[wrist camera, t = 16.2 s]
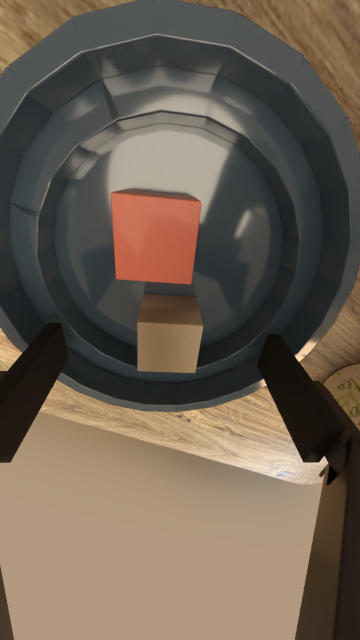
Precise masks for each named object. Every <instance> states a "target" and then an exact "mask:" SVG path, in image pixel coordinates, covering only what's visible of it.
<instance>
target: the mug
mask: <svg viewBox="0 0 360 640" xmlns="http://www.w3.org/2000/svg"><path fill="white" fill-rule="evenodd" d="M323 385H324V386H325V387H326V388H328V390H329V391H330V392H331V394H332V395H333V396H334V398H335V399H336V400H337V402H338V403H339V405H341V407H342V408H343V409H344V411H345V412H346V413H347V415H348V416H349V417H350V419H351V420H352V421H353V422H354V424H355V425H356V426H357V428H358V429H359V430H360V364H355V365H351V366H347V367H345V368H342V369H340V370H338V371H337V372H335V373H333V374H332V375H331V376H330V377H329V378H328V379H327V380H326V381H325V382H324V384H323Z"/></svg>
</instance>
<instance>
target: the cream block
mask: <svg viewBox="0 0 360 640" xmlns="http://www.w3.org/2000/svg"><path fill="white" fill-rule="evenodd" d="M202 331H203V322H202V318H201V314H200V310H199V306H198V302H197V298H196V297H187V296H171V295H155V294H143V298H142V302H141V307H140V311H139V316H138V320H137V370H138V371H149V372H178V373H195V371H196V366H197V360H198V354H199V349H200V343H201V337H202Z"/></svg>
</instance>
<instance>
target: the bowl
mask: <svg viewBox="0 0 360 640" xmlns="http://www.w3.org/2000/svg"><path fill="white" fill-rule="evenodd" d="M124 189H130V190H139V191H149V192H158V193H168V194H178V195H187V196H193V197H195V198H196V199H198V200H200V201H201V202H202V205H201V212H200V220H199V228H198V236H197V244H196V251H195V259H194V267H193V275H192V283H191V284H178V283H163V282H149V281H135V280H120V279H116V272H115V256H114V239H113V222H112V206H111V192H115V191H120V190H124ZM359 266H360V153H359V150H358V146H357V143H356V140H355V136H354V133H353V130H352V127H351V123H350V120H349V118H348V117H347V114H346V113H345V111H344V110H343V108H342V107H341V106H340V104H339V103H338V102H337V100H336V99H335V97H334V96H333V95H332V93H331V92H330V91H329V89H328V88H327V86H326V85H325V84H324V82H323V81H322V79H321V78H320V77H319V75H318V74H317V73H316V71H315V70H314V68H313V67H312V66H311V64H310V63H309V61H308V60H307V59H306V58H304V55H303V54H301V53H300V52H298V51H297V50H295V49H294V48H292V47H291V46H289V45H288V44H286V43H285V42H283V41H281V40H280V39H278V38H277V37H275V36H274V35H272V34H271V33H269V32H268V31H266V30H265V29H263V28H262V27H260V26H258V25H257V24H255V23H254V22H252V21H251V20H249V19H248V18H246V17H245V16H243V15H242V14H240V13H237V12H236V11H231V10H226V9H220V8H215V7H209V6H204V5H198V4H193V3H187V2H181V1H176V0H137V1H133V2H129V3H125V4H121V5H116V6H112V7H108V8H104V9H100V10H96V11H92V12H88V13H84V14H80V15H76V16H72V19H69V20H67V21H66V22H65V23H63V24H62V25H61V26H60V27H58V28H57V29H56V30H54V31H53V32H52V33H50V34H49V35H48V36H46V37H45V38H44V39H43V40H41V41H40V42H39V43H37V44H36V45H35V46H33V47H32V48H31V49H30V50H28V51H27V52H26V53H24V54H23V55H22V56H20V57H19V58H18V59H16V60H15V61H14V62H13V63H11V64H10V65H9V68H8V67H6V68H5V70H4V71H3V73H2V75H1V77H0V328H1V329H2V331H3V332H4V333H5V335H6V336H7V337H8V339H9V340H10V342H11V343H13V345H14V346H15V347H16V348H18V349H19V350H20V351H21V352H22V353H23V352H24V351H25V350H26V348H27V347H28V346H29V345H30V344H31V342H32V341H33V340H34V339H35V338H36V336H37V335H38V334H39V333H40V332H41V331H42V329H43V328H44V327H45V326H46V325H47V323H48V322H51V323H62V328H63V332H64V337H65V341H66V346H67V350H68V355H69V358H68V360H67V362H66V364H65V366H64V367H63V369H62V371H61V373H60V374H59V376H58V378H57V380H58V381H60V382H62V383H63V384H65V385H67V386H68V387H70V388H72V389H73V390H75V391H78V392H79V393H82V394H84V395H87V396H90V397H92V398H95V399H98V400H100V401H103V402H106V403H108V404H112V405H115V406H120V407H125V408H130V409H136V410H141V411H156V412H179V411H180V412H182V411H189V410H196V409H202V408H209V407H214V406H217V405H220V404H223V403H226V402H230V401H233V400H236V399H239V398H242V397H245V396H247V395H249V394H251V393H253V392H255V391H257V390H258V389H260V388H262V387H264V386H266V383H265V381H264V379H263V377H262V375H261V373H260V371H259V369H258V367H257V362H258V360H259V357H260V354H261V351H262V349H263V346H264V343H265V340H266V338H267V335H268V334H279V335H280V336H281V338H282V339H283V341H284V342H285V343H286V345H287V346H288V347H289V349H290V350H291V352H292V353H293V354H294V356H295V357H296V359H297V360H298V361H299V362H300V361H301V360H302V359H303V358H305V357H306V356H307V355H308V354H309V353H310V351H311V350H312V349H313V348H314V347H315V346H316V344H317V343H318V342H319V341H320V340H321V339H322V337H323V336H324V335H325V334H326V333H327V331H328V330H329V329H330V328H331V327H332V325H333V324H334V322H335V321H336V319H337V317H338V315H339V313H340V311H341V309H342V308H343V306H344V304H345V302H346V300H347V298H348V296H349V295H350V293H351V291H352V289H353V287H354V284H355V281H356V277H357V274H358V270H359ZM143 294H155V295H171V296H187V297H196V298H197V302H198V306H199V310H200V314H201V318H202V322H203V331H202V337H201V343H200V349H199V354H198V360H197V366H196V371H195V373H178V372H149V371H138V370H137V320H138V316H139V311H140V307H141V302H142V298H143Z"/></svg>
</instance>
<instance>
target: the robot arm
mask: <svg viewBox="0 0 360 640" xmlns="http://www.w3.org/2000/svg"><path fill="white" fill-rule="evenodd" d="M68 358H69V355H68V350H67V346H66V341H65V337H64V332H63V328H62V323H51V322H48V323H47V325H46V326H45V327H44V328H43V329H42V331H41V332H40V333H39V334H38V335H37V336H36V338H35V339H34V340H33V341H32V342H31V344H30V345H29V346H28V347H27V348H26V350H25V351H24V352H23V353H22V354H21V355H20V357H19V358H18V359H17V360H16V361H15V363H14V364H13V365H12V366H11V367H10V369H9V370H8V371H0V463H7V462H8V463H10V462H11V460H12V458H13V457H14V455H15V453H16V451H17V450H18V448H19V446H20V444H21V442H22V441H23V439H24V437H25V435H26V434H27V432H28V430H29V428H30V426H31V425H32V423H33V421H34V419H35V417H36V416H37V414H38V412H39V410H40V408H41V407H42V405H43V403H44V401H45V400H46V398H47V396H48V394H49V392H50V391H51V389H52V387H53V385H54V383H55V382H56V380H57V378H58V376H59V374H60V373H61V371H62V369H63V367H64V366H65V364H66V362H67V360H68ZM257 367H258V369H259V371H260V373H261V375H262V377H263V379H264V381H265V383H266V385H267V387H268V390H269V392H270V394H271V396H272V398H273V400H274V402H275V404H276V406H277V408H278V410H279V412H280V414H281V417H282V419H283V421H284V423H285V425H286V427H287V429H288V431H289V433H290V435H291V437H292V439H293V442H294V444H295V446H296V448H297V450H298V452H299V454H300V456H301V458H302V460H303V462H320V460H321V459H322V458H323V457H324V456H325V457H326V459H327V461H328V464H327V465H326V467H325V468H324V469H323V470H322V471H321V473H320V474H319V476H320V477H322V476H323V475H324V474H325V475H324V480H323V486H322V492H321V497H320V503H319V509H318V514H317V519H316V525H315V531H314V536H313V542H312V547H311V553H310V558H309V564H308V569H307V575H306V581H305V586H304V593H303V597H302V604H301V608H300V614H299V620H298V625H297V631H296V637H295V640H360V430H359V429H358V428H357V426H356V425H355V424H354V422H353V421H352V420H351V419H350V417H349V416H348V415H347V413H346V412H345V411H344V409H343V408H342V407H341V405H339V403H338V402H337V400H336V399H335V398H334V396H333V395H332V394H331V392H330V391H329V390H328V388H326V387H325V386H324V385H323V384H321V383H320V382H319V381H312V379H311V378H310V377H309V375H308V374H307V372H306V371H305V370H304V368H303V367H302V365H301V364H300V363H299V361H298V360H297V359H296V357H295V356H294V354H293V353H292V352H291V350H290V349H289V347H288V346H287V345H286V343H285V342H284V341H283V339H282V338H281V336H280V335H279V334H268V335H267V338H266V340H265V343H264V346H263V349H262V351H261V354H260V357H259V360H258V362H257ZM0 640H14V637H13V632H12V626H11V621H10V616H9V610H8V605H7V600H6V594H5V589H4V584H3V578H2V573H1V568H0Z"/></svg>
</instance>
